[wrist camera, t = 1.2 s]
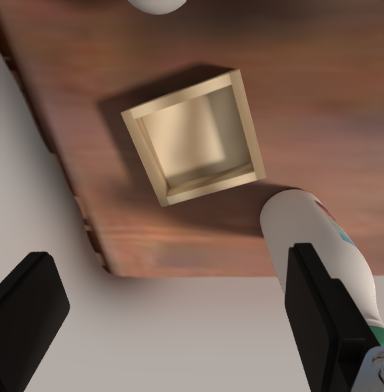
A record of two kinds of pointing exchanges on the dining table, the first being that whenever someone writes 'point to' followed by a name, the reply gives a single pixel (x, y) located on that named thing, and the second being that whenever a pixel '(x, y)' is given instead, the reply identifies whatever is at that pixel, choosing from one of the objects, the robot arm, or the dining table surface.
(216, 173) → the holder
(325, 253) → the milk bottle
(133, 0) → the lightbulb
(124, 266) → the dining table surface
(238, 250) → the dining table surface
